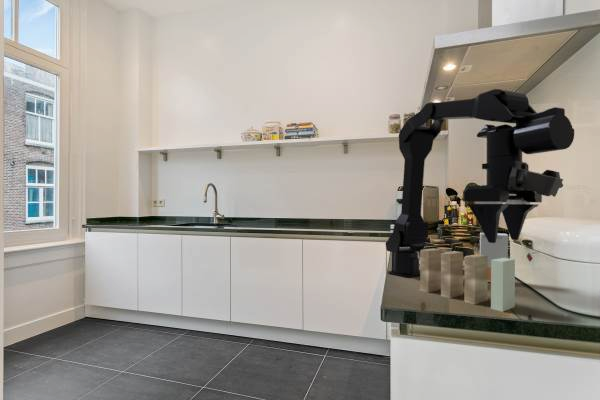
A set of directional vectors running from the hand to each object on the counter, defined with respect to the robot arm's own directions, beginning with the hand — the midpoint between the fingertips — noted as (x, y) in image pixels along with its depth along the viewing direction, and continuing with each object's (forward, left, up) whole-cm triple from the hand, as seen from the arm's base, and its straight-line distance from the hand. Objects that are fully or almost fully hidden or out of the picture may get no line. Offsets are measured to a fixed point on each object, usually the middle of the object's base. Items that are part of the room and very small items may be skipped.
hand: (503, 241), depth 61 cm
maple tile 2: (-10, 0, -13) cm, 16 cm away
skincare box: (-11, +21, -13) cm, 27 cm away
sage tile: (0, 0, -13) cm, 13 cm away
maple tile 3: (-5, 0, -13) cm, 13 cm away
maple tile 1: (-15, 0, -13) cm, 20 cm away
